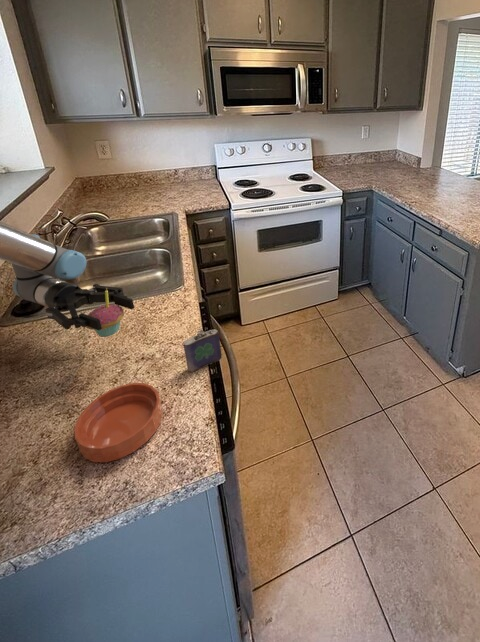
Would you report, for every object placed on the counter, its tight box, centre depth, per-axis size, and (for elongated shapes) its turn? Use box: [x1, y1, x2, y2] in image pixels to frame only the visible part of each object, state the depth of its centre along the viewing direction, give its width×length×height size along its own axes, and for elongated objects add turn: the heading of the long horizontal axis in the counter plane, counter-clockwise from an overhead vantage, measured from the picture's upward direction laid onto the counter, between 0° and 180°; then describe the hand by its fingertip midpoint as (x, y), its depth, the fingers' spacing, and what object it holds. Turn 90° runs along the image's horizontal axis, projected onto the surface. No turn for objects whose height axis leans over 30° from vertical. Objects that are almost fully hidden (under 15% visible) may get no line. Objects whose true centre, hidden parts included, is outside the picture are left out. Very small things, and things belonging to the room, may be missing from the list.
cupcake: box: [85, 288, 125, 338], centre depth 91 cm, size 9×8×12 cm
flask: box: [182, 328, 223, 373], centre depth 95 cm, size 9×3×11 cm, turn 125°
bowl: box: [74, 382, 163, 463], centre depth 78 cm, size 16×16×4 cm
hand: (116, 314), depth 89 cm, fingers closed on cupcake, 8 cm apart
